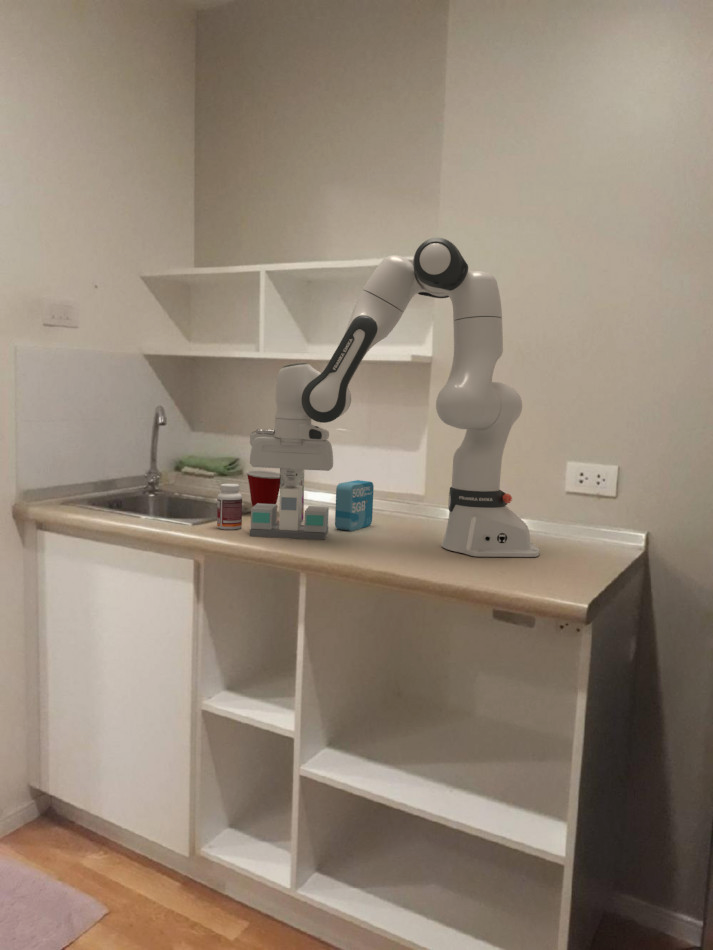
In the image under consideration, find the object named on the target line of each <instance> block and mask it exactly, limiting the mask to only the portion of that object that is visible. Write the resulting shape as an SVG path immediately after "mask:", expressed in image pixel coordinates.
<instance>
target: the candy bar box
mask: <svg viewBox="0 0 713 950" xmlns="http://www.w3.org/2000/svg"><path fill="white" fill-rule="evenodd" d="M280 471H281V468H279V473H280ZM286 475H287V477H288V479H290V480H294V479H295V478H296V476H297V475H298V474H296V469H287V472H286ZM284 485H285V480H284V479H283V477H282V475H281V473H280V488H282V487H283V486H284ZM297 486H302V518H301V522H302V520H304V515H305V508H304V507H305V506H304V505H305V501H304V500H305V497H304V496H305V470H302V474H301V476H300V477H299V479H298V480H297ZM278 508H279V511H280V507H278Z"/></svg>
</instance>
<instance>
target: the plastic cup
mask: <svg viewBox="0 0 713 950" xmlns="http://www.w3.org/2000/svg"><path fill="white" fill-rule="evenodd" d="M245 474H246V476H247V479H248V485H249V492H250V493H249V494H250V502H251V508H252V507H253V506H255V505H256V504H257V503H260V504H277V502H278V498H279V495H280V472H277V471H271V470H270V471H269V470H261V469H259V470H258V469H257V470H256V469H253V470H246V471H245Z"/></svg>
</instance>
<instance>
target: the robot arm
mask: <svg viewBox="0 0 713 950" xmlns="http://www.w3.org/2000/svg"><path fill="white" fill-rule="evenodd" d="M416 294H417V295H419V296H424V297H431V298H435V299H447V298H449V299H450V301H451V305H452V312H453V313H452V314H453V315H452V317H453V357H452V365H451V368H450V373H449V377H448V379H447V381H446V383H445V385H444V386H443V387H441V389H440V391H439V392H438V394H437V397H436V401H435V409H436V413H437V416H438V417H439V419H440V420H441V421H442V423H444V424H445V425H448V426H450V427H453V428H456V429H459V430H466V431H465V434H464V438H463V440H462V442H461V443H460V445H459V446H458V448H457V449H455V452H454V454H453V457H452V458H453V459H452V474H451V475H452V476H451V477H452V478H451V480H452V481H451V486H450V487H449V492H448V500H447V501H448V506H447V508H448V511H449V512H448V518H447V523H446V524H447V525H446V530H445V533H444V536H443V540H442V542H441V547H442V548H444V549H446V550H448V551H453V552H455V553H462V554H465V555H468V556H472V557H479V558H480V557H485V558H487V557H497V558H498V557H501V558H503V557H504V558H506V557H508V558H509V557H510V558H511V557H512V558H514V557H515V558H535V557H538V556H540V549H539V547H538V546H537V545H536V544H534V543H532V542H531V535H530V529H529V526H528V525H527V523H526V522H525V521H524V520H522V519H521V518H520V516H518V515H517V514H516V513H515V512H514V511H513V510H512V509H510V508H509V507H508V506H507V505H508V504H511V502H512V501H513V496H512V495H511V494H509V493H506V492H504V491H503V490H501V489H500V487H501V474H502V461H503V454H504V452H505V451H504V450H505V447H506V443H507V440H508V438H509V435H510V432H511V430H512V427H513V425H514V424H515V423H516V421H517V420H518V419H519V418H520V416H521V413H522V410H523V400H522V398H521V395H520V393H519V392H518V391H517V390H516V389H515V388H513V387H511V386H509V385H507V384H505V383H502V382H499V381H498V382H496V381H493V376H494V371H495V367H496V364H497V362H498V360H500V358H501V357H502V356H503V353H504V343H503V338H504V337H503V312H502V311H503V310H502V309H503V308H502V303H501V302H502V301H501V295H500V289H499V285H498V282H497V279H496V278H495V276H494V275H493V274H491V273H489V272H487V271H483V270H470V269H469V264H468V263H467V261H466V260H465V259H464V257H463V255H462V254H461V252H460V250H459V249H458V248H457V246H456V245H455V244H454V243H453V242H452V241H449V240H448V239H445V238H443V237H432V238H430V239H426V240H425V241H424V242H422V243H421V244H419V246H418V248H417V249H416V251H415V252H414V255H413V259H410V258H406V257H404V256H402V255H399V254H398V255H396V254H392V255H391V254H390V255H387V256H386V257H384V258H383V259H382V261H381V262H379V264H378V265H377V266H376V268H375V269H374V271H373V272H372V273H371V275H370V277H369V278H368V279H367V281H366V283H365V284H364V286H363V288H362V290H361V292H360V293H359V296H358V298H357V300H356V302H355V305H354V307H353V309H352V312H351V315H350V319H349V321H348V324H347V326H346V330H345V332H344V334H343V336H342V339H341V340H340V342H339V344H338V346H337V348H336V349H335V351H334V352H333V355H332V357H331V358H330V359H329V362H327V365H326V366H325V368H324V370H323V371H322V372H320V371H318V369H316V368H314V367H313V366H312V365H311V364H310V363H306V362H300V363H299V362H297V363H292V364H287V365H284V366H282V367H281V368H280V369H279V371H278V372H277V379H276V385H275V386H276V387H275V405H276V412H275V415H274V429H262V428H258V429H256V430H253V431H252V432H251V434H249V435H250V436H249V445H250V447H251V448H250V449H251V450H250V454H249V455H250V456H249V464H250V466H251V467H253V468H265V469H266V468H268V469H280V468H281V471H280V470H279V473H281V475H282V477H283V479H284V480H285V487H292V488H297V480H298V479H299V477H300V476H301V474H302V470H304V471H325V472H326V471H327V472H328V471H331V470H332V469H333V467H334V453H333V451H334V450H333V446H332V443H331V442H330V440H329V438H330V432H329V430H327V429H324V428H323V427H320V426H317V425H314V424H312V420H313V421H315V422H316V423H320V424H321V423H330V422H333V421H335V420H336V419H338V418H340V417H341V416H343V415H344V414H345V413H346V412H347V411H348V410H349V409H350V406H351V402H352V396H351V395H352V394H351V391H350V389H349V388H348V387H349V384H350V382H351V380H352V378H353V377H354V375H355V373H356V372H357V370H358V368H359V367H360V364H361V363H362V361H363V360H364V358H365V356H366V355H367V353H368V352H369V351H370V350H371V349H372V348H373V347H374V346H375V345H377V344H378V343H379V342H381V341H382V340H383V339H386V338H387V337H388V336H389V335H390V334H391V332H392V331H393V329H394V328H396V325H397V324H398V322H399V321H400V319H401V318H402V316H403V314H404V313H405V311H406V309H407V307H408V305H409V303H410V302H411V300H412V298H413V297H414V296H416ZM287 469H296V474H298V475H297V476H296V478H295V479H294V480H290V479H288V477H287V475H286V472H287Z"/></svg>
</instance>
